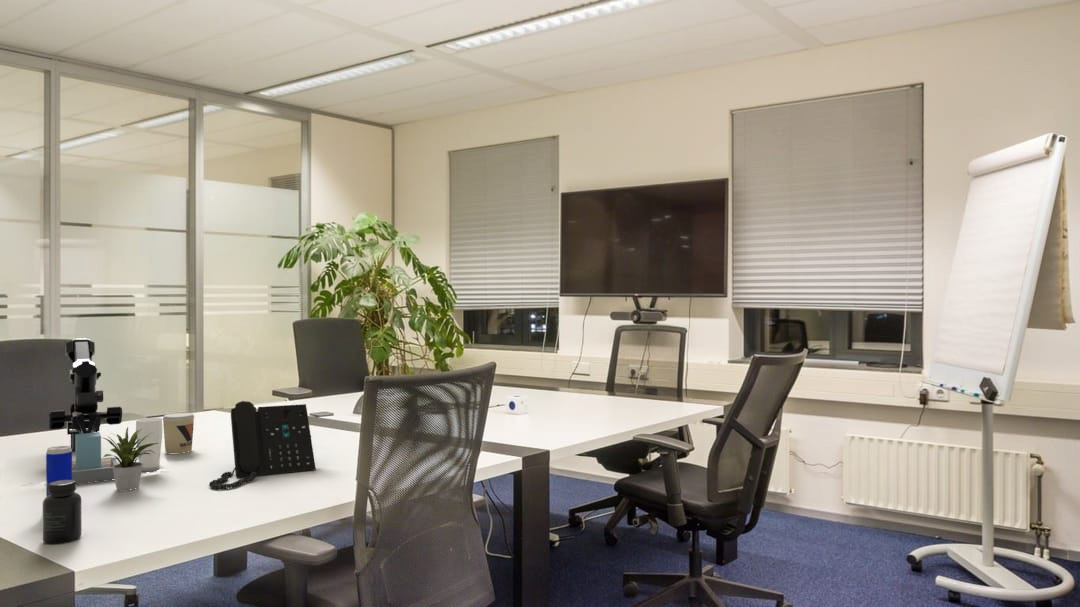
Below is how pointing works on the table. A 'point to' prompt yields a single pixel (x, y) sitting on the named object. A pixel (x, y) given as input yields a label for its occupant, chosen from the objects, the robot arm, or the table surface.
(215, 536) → the table surface
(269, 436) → the office phone
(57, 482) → the supplement bottle
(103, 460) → the board
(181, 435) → the coffee cup
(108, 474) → the box
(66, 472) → the beverage can
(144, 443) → the white tall tapered cylinder
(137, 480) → the house plant
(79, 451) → the block
